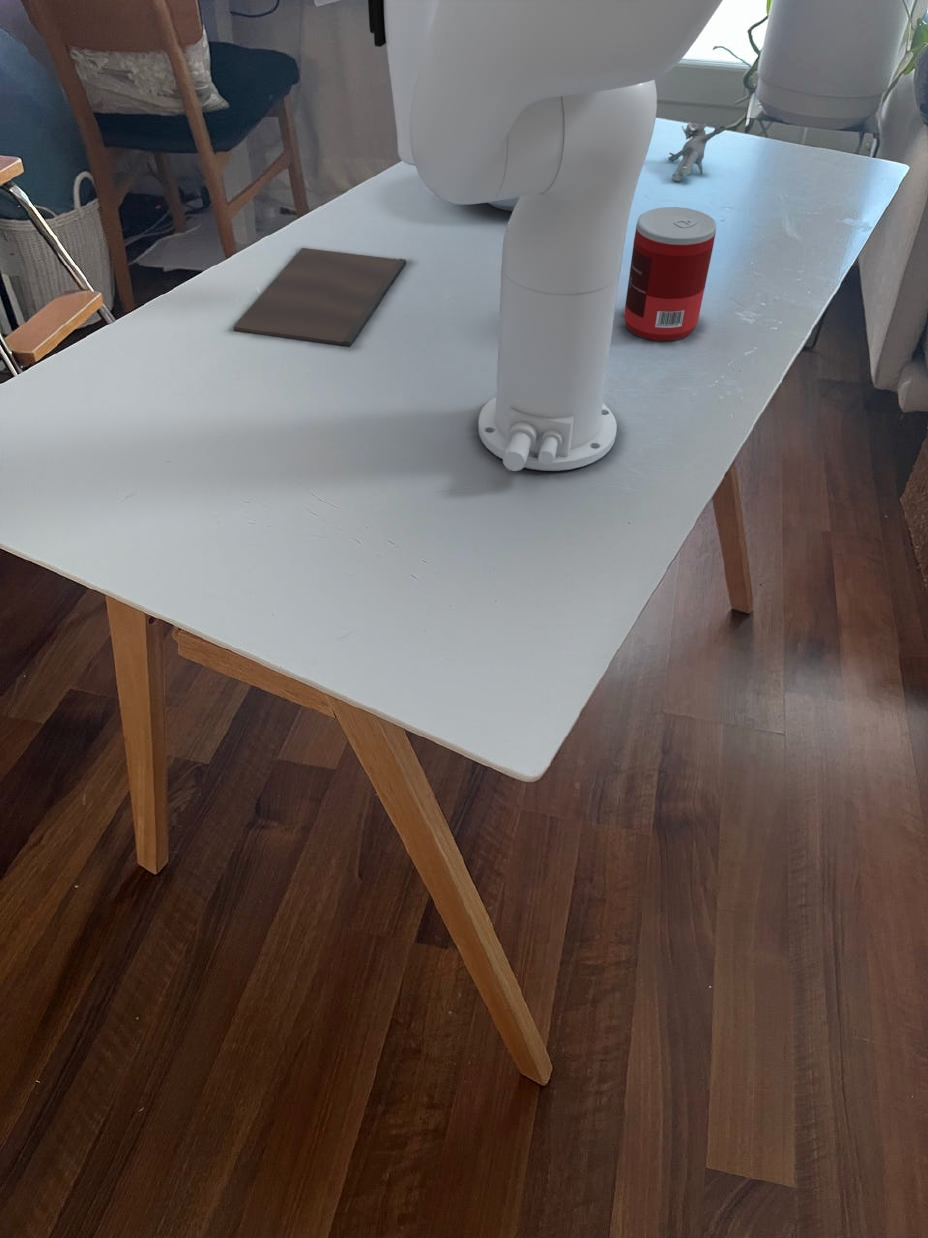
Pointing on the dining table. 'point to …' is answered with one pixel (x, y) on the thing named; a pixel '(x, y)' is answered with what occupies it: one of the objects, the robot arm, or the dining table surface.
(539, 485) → the dining table surface
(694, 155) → the grey creature figurine
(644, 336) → the canned food
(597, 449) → the robot arm
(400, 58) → the drinking glass
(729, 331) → the dining table surface
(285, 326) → the desk mat
